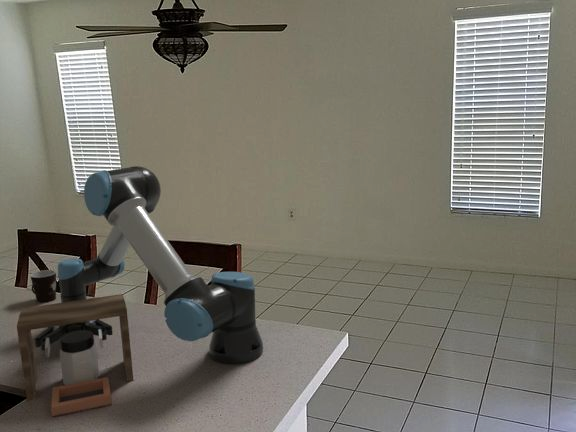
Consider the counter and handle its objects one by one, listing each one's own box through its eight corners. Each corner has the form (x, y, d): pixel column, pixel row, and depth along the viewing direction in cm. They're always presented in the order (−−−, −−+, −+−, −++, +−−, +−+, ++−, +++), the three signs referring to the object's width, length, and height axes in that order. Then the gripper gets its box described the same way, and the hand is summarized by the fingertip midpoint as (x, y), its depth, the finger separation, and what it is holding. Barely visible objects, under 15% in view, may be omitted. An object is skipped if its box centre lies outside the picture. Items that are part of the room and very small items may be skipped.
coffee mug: (49, 294, 206) (46, 268, 204) (64, 297, 202) (61, 271, 200) (21, 304, 197) (17, 277, 194) (35, 308, 192) (32, 281, 190)
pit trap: (53, 396, 134) (52, 387, 133) (109, 385, 138) (108, 376, 138) (52, 417, 125) (51, 407, 125) (111, 404, 130) (110, 395, 129)
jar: (67, 391, 136) (61, 347, 134) (60, 378, 143) (54, 335, 140) (103, 380, 141) (98, 337, 139) (95, 368, 148) (90, 326, 145)
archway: (30, 378, 143) (21, 308, 139) (129, 360, 152) (122, 293, 148) (27, 401, 132) (16, 326, 128) (133, 380, 141) (126, 309, 137)
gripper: (118, 323, 171) (124, 352, 151) (31, 337, 162) (25, 369, 143) (116, 301, 169) (121, 326, 150) (28, 313, 160) (21, 343, 141)
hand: (74, 347), depth 146 cm, fingers open, 13 cm apart
